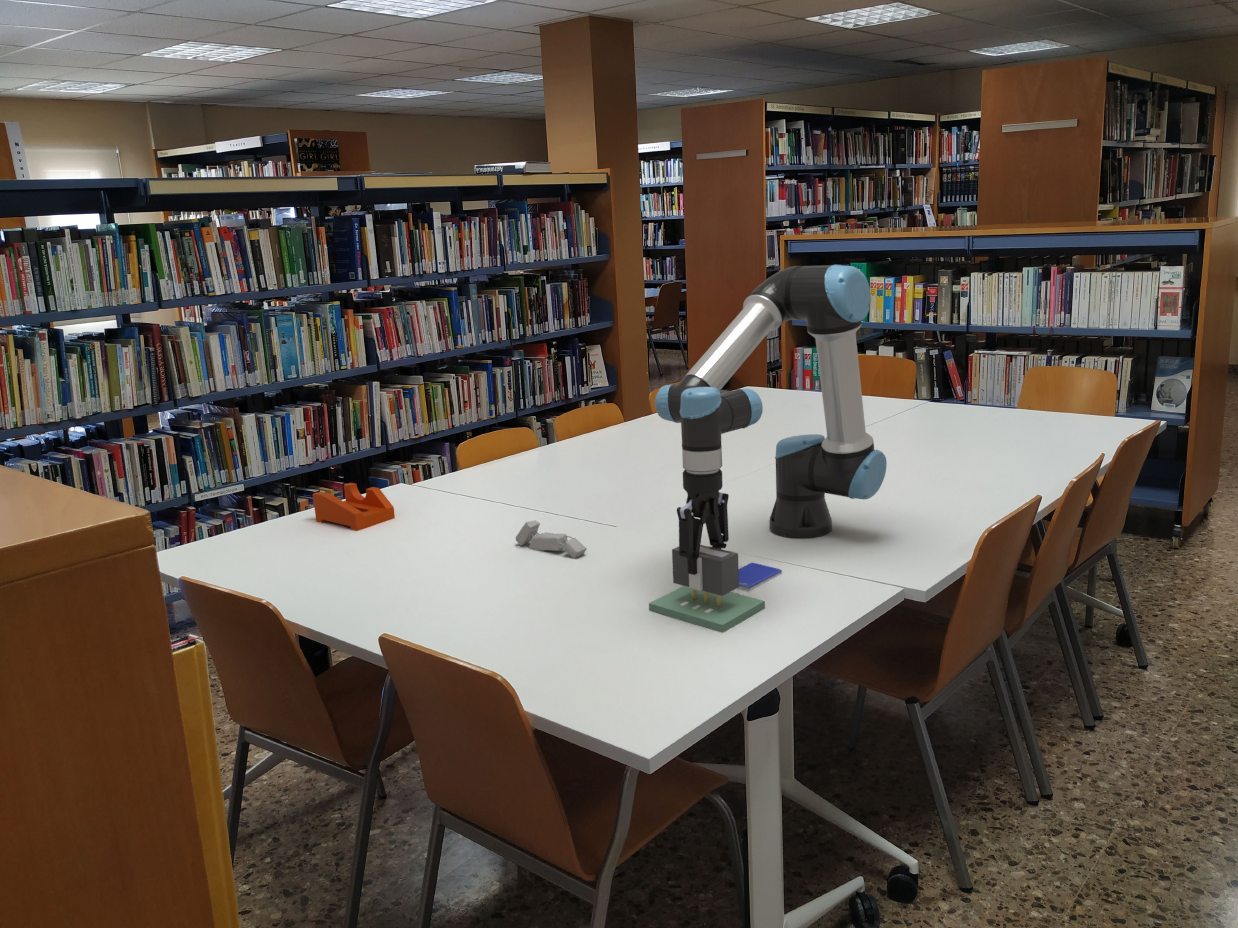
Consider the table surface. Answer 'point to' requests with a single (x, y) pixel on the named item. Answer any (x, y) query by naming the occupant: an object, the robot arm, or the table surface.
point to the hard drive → (756, 575)
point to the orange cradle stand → (354, 507)
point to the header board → (707, 607)
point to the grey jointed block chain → (548, 540)
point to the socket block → (710, 570)
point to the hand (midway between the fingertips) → (705, 583)
